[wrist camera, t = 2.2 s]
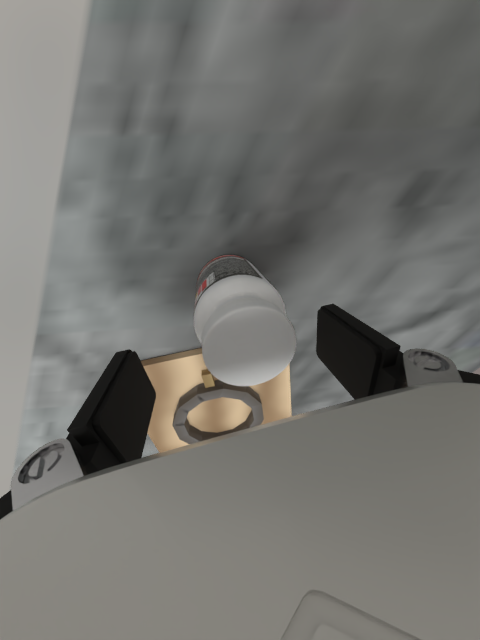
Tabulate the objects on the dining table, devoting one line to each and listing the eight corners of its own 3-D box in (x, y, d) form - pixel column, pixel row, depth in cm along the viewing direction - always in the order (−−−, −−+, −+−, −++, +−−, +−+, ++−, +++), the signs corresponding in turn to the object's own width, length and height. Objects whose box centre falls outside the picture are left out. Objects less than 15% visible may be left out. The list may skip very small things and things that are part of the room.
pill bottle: (186, 299, 18) (169, 375, 10) (214, 240, 16) (224, 270, 8) (240, 322, 20) (267, 403, 12) (271, 272, 18) (330, 325, 10)
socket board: (284, 330, 21) (293, 342, 19) (289, 430, 30) (296, 446, 28) (114, 366, 20) (103, 383, 18) (170, 460, 29) (167, 479, 27)
